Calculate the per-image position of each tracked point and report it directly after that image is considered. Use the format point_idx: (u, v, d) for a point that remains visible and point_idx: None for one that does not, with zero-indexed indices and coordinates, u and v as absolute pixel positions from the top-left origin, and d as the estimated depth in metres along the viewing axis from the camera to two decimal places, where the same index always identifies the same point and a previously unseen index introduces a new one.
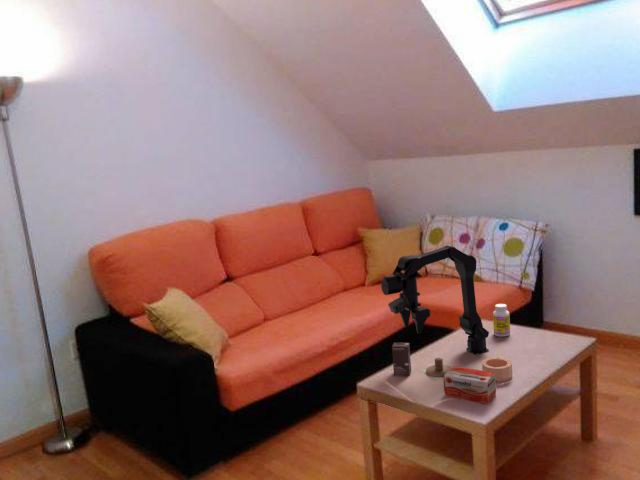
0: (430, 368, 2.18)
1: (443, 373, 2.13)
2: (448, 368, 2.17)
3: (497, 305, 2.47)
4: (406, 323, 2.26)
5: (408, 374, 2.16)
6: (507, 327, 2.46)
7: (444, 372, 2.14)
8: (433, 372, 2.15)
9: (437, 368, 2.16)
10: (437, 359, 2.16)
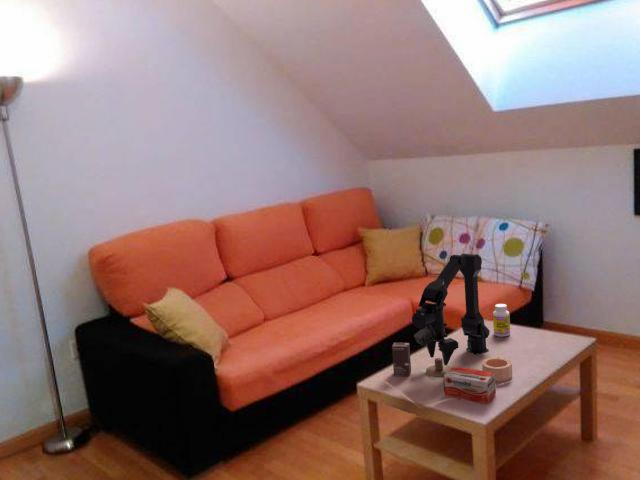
0: (430, 368, 2.18)
1: (443, 373, 2.13)
2: (448, 368, 2.17)
3: (497, 305, 2.47)
4: (432, 353, 2.20)
5: (408, 374, 2.16)
6: (507, 327, 2.46)
7: (444, 372, 2.14)
8: (433, 372, 2.15)
9: (437, 368, 2.16)
10: (437, 359, 2.16)
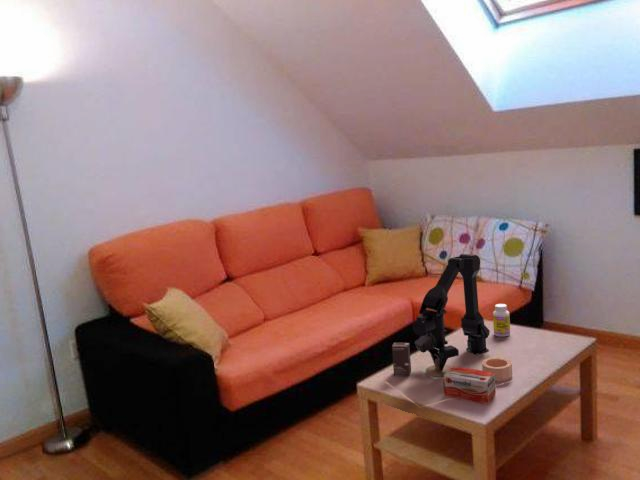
0: (430, 368, 2.18)
1: (443, 373, 2.13)
2: (448, 368, 2.17)
3: (497, 305, 2.47)
4: None
5: (408, 374, 2.16)
6: (507, 327, 2.46)
7: (444, 372, 2.14)
8: (433, 372, 2.15)
9: (437, 368, 2.16)
10: (437, 359, 2.16)
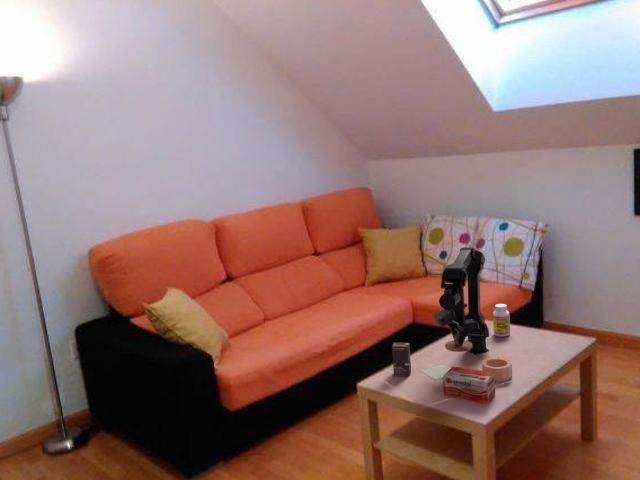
0: (449, 343, 2.14)
1: (462, 348, 2.09)
2: (468, 343, 2.12)
3: (497, 305, 2.47)
4: None
5: (408, 374, 2.16)
6: (507, 327, 2.46)
7: (463, 347, 2.09)
8: (452, 347, 2.10)
9: (456, 343, 2.11)
10: (456, 334, 2.12)
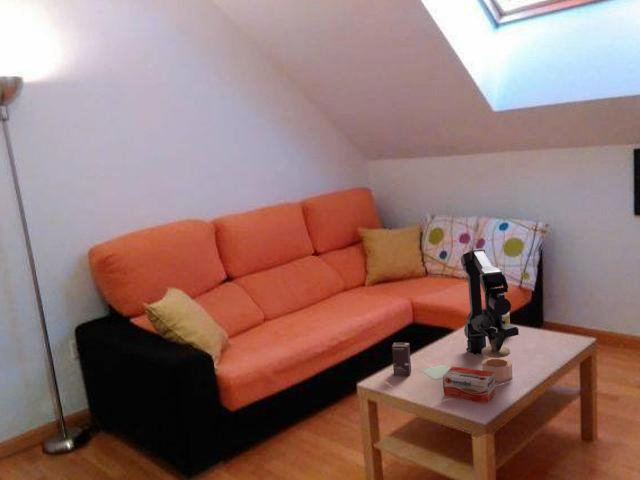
0: (486, 349, 2.09)
1: (501, 354, 2.04)
2: (505, 349, 2.08)
3: None
4: None
5: (408, 374, 2.16)
6: None
7: (501, 353, 2.05)
8: (490, 353, 2.06)
9: (494, 349, 2.06)
10: (493, 339, 2.07)
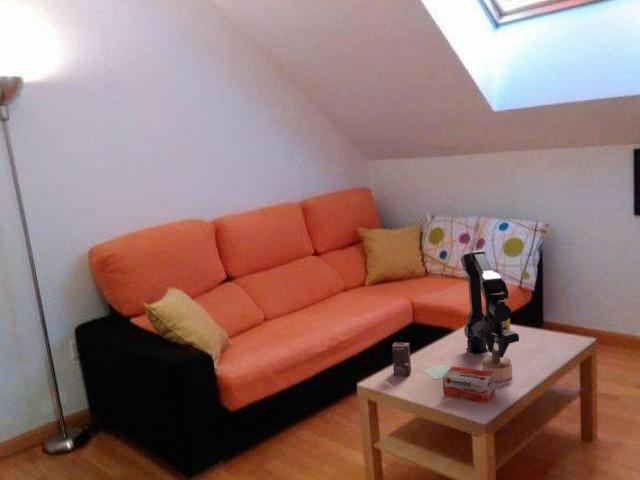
0: (486, 359, 2.10)
1: (501, 364, 2.05)
2: (505, 359, 2.08)
3: None
4: (491, 348, 2.10)
5: (408, 374, 2.16)
6: (507, 327, 2.46)
7: (502, 363, 2.05)
8: (490, 363, 2.06)
9: (494, 359, 2.07)
10: (494, 350, 2.08)
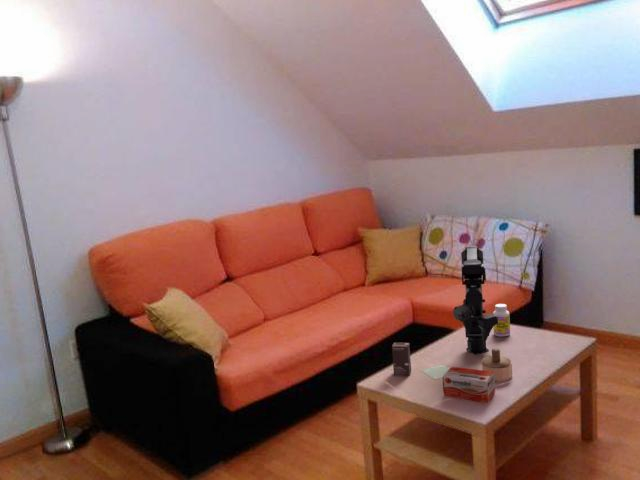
0: (486, 359, 2.10)
1: (501, 364, 2.05)
2: (505, 359, 2.08)
3: (497, 305, 2.47)
4: (468, 330, 2.19)
5: (408, 374, 2.16)
6: (507, 327, 2.46)
7: (502, 363, 2.05)
8: (490, 363, 2.06)
9: (494, 359, 2.07)
10: (494, 350, 2.08)
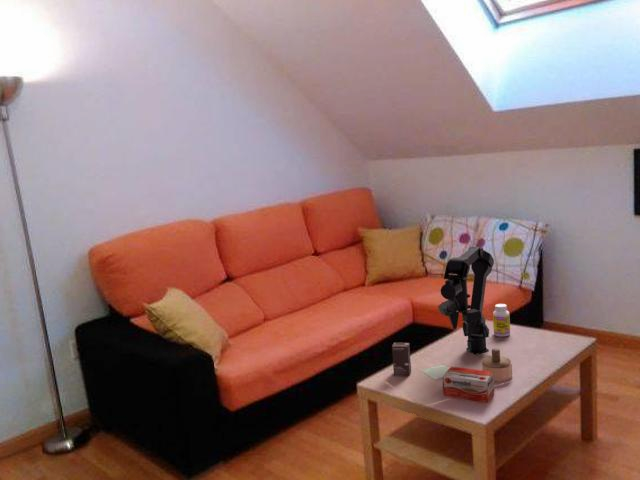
0: (486, 359, 2.10)
1: (501, 364, 2.05)
2: (505, 359, 2.08)
3: (497, 305, 2.47)
4: (454, 325, 2.25)
5: (408, 374, 2.16)
6: (507, 327, 2.46)
7: (502, 363, 2.05)
8: (490, 363, 2.06)
9: (494, 359, 2.07)
10: (494, 350, 2.08)
